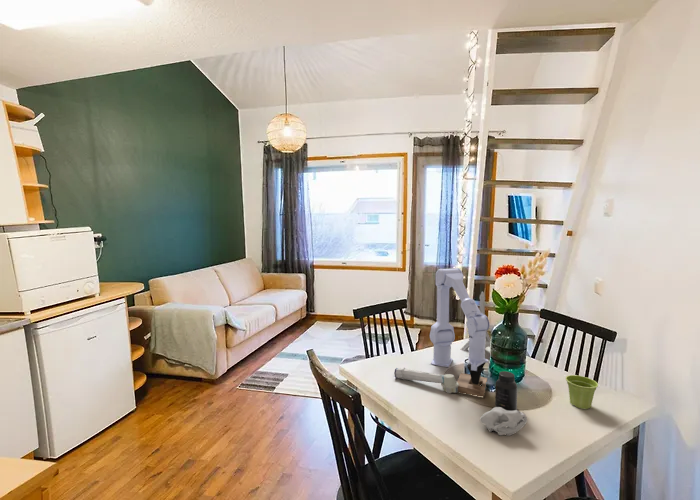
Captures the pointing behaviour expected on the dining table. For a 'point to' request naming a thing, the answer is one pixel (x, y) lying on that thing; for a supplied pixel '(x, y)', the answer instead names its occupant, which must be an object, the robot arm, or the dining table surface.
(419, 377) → the gray mallet
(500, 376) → the supplement bottle
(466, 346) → the eiffel tower
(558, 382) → the dining table surface
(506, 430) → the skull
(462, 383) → the socket block
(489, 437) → the dining table surface
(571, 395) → the plant pot
